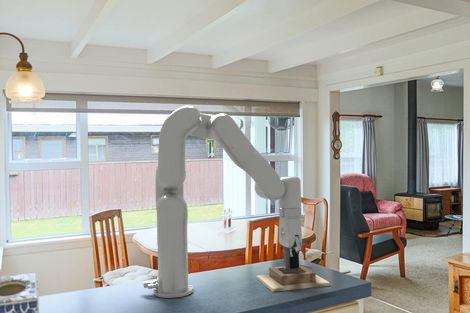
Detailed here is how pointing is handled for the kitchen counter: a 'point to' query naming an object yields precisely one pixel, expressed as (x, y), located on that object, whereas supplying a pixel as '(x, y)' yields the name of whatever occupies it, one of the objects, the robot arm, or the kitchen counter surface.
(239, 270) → the kitchen counter surface
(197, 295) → the kitchen counter surface
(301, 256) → the ornament
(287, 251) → the stone
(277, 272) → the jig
